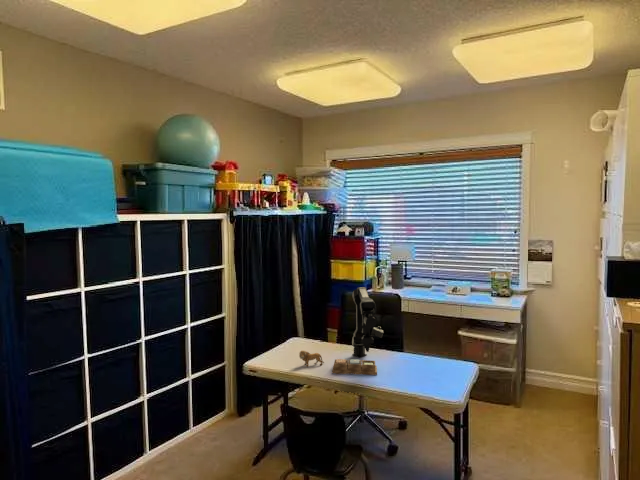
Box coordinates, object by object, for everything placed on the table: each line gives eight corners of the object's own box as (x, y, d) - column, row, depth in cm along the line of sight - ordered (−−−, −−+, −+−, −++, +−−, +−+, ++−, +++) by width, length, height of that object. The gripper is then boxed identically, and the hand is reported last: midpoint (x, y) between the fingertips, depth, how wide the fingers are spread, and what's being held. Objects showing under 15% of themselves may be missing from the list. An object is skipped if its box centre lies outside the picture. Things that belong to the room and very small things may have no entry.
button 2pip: (363, 369, 239) (363, 365, 239) (364, 366, 244) (364, 362, 244) (373, 369, 238) (373, 365, 238) (373, 366, 243) (373, 362, 243)
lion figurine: (300, 368, 247) (300, 352, 246) (298, 365, 252) (298, 349, 251) (325, 365, 251) (325, 349, 251) (322, 362, 256) (322, 346, 256)
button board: (332, 373, 238) (332, 364, 238) (333, 367, 248) (333, 358, 248) (377, 374, 236) (377, 366, 235) (376, 368, 246) (376, 359, 245)
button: (350, 366, 239) (350, 362, 239) (350, 362, 244) (350, 359, 244) (359, 366, 239) (359, 362, 239) (359, 363, 244) (359, 359, 244)
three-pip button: (336, 365, 240) (336, 361, 240) (336, 362, 245) (336, 358, 245) (345, 365, 240) (345, 361, 240) (345, 362, 245) (345, 358, 244)
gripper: (383, 328, 229) (383, 357, 230) (381, 319, 248) (381, 346, 249) (361, 327, 230) (361, 357, 231) (361, 319, 249) (361, 346, 250)
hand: (367, 351), depth 240 cm, fingers closed
